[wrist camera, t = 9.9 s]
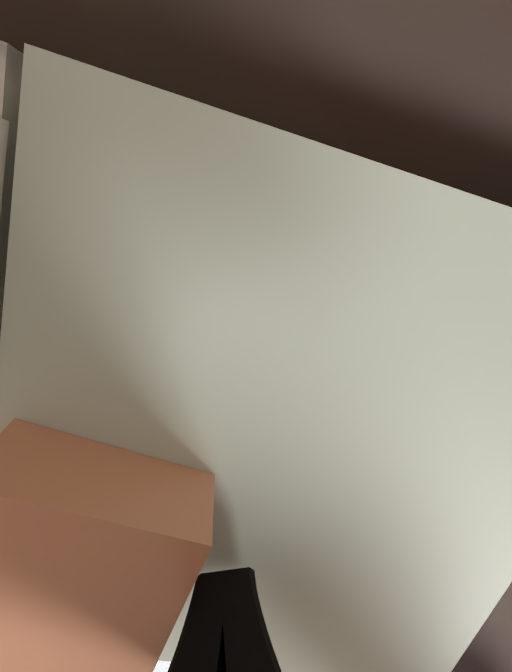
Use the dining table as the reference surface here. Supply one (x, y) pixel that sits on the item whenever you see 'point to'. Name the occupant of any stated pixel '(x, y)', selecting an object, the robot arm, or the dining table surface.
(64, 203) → the board
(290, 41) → the dining table surface
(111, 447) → the tile terracotta
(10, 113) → the tray
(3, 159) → the tile cream
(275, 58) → the dining table surface
